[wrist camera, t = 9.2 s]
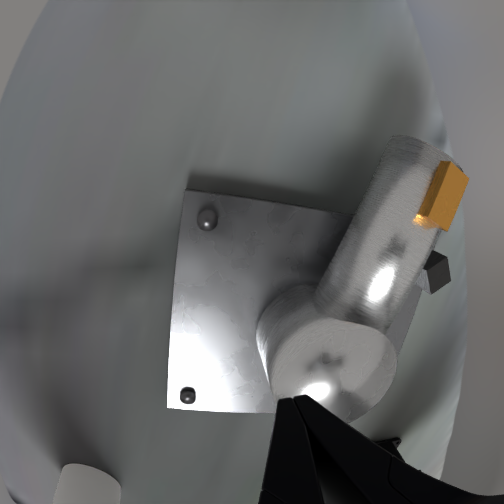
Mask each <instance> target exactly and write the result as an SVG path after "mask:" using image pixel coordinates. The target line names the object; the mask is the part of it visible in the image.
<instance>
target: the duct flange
mask: <svg viewBox="0 0 504 504" xmlns="http://www.w3.org/2000/svg"><path fill="white" fill-rule="evenodd" d="M353 217H354V215H349V214H343V213H338V212H333V211H327V210H322V209H316V208H310V207H305V206H299V205H293V204H287V203H281V202H275V201H269V200H262V199H256V198H249V197H242V196H236V195H229V194H222V193H214V192H207V191H200V190H192V189H185V193H184V200H183V208H182V216H181V224H180V232H179V241H178V250H177V259H176V269H175V280H174V291H173V304H172V317H171V332H170V349H169V371H168V402H167V407H169V408H179V409H189V410H202V411H218V412H244V413H275V412H276V405H275V401H274V398H273V395H272V392H271V389H270V385H269V382H268V379H267V376H266V372H265V369H264V366H263V363H262V359H261V356H260V353H259V349H258V346H257V341H256V332H257V326H258V323H259V320H260V318H261V316H262V314H263V312H264V311H265V309H266V308H267V307H268V305H269V304H270V303H271V302H272V301H273V300H274V299H275V298H277V297H278V296H279V295H280V294H282V293H284V292H285V291H287V290H289V289H291V288H293V287H296V286H299V285H304V284H310V283H320V281H321V279H322V277H323V276H324V274H325V272H326V270H327V268H328V266H329V264H330V262H331V261H332V259H333V257H334V255H335V253H336V251H337V249H338V247H339V245H340V243H341V241H342V239H343V237H344V235H345V233H346V231H347V229H348V227H349V225H350V223H351V221H352V219H353ZM434 247H435V245H434ZM434 247H433V249H432V251H431V253H430V255H429V257H428V259H427V261H426V263H425V265H424V267H423V269H422V271H421V273H420V275H419V277H418V279H417V281H416V282H415V284H414V286H413V288H412V290H411V292H410V293H409V295H408V297H407V299H406V301H405V302H404V304H403V306H402V308H401V309H400V311H399V313H398V314H397V316H396V318H395V319H394V321H393V323H392V324H391V326H390V328H389V329H388V331H387V333H386V334H385V336H386V337H387V338H388V339H389V341H390V342H391V343H392V345H393V346H394V348H395V351H396V355H397V357H398V354H399V352H400V350H401V347H402V345H403V342H404V339H405V337H406V334H407V332H408V329H409V326H410V324H411V321H412V318H413V315H414V312H415V310H416V307H417V304H418V301H419V298H420V295H421V292H422V289H423V290H425V291H426V292H428V293H429V294H433V293H434V292H436V291H437V290H439V289H440V288H442V287H443V286H444V285H446V284H447V283H449V282H450V281H451V278H450V271H449V265H448V259H447V257H446V256H444V255H442V254H440V253H438V252H436V251H434Z"/></svg>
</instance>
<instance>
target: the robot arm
mask: <svg viewBox="0 0 504 504" xmlns="http://www.w3.org/2000/svg"><path fill="white" fill-rule="evenodd" d="M400 443H401V439H400V438H394V439H389V440H384V441H379V442H373V441H371V440H370V439H369V438H367V437H366V436H364V435H363V434H361V433H360V432H358V431H357V430H356V429H354V428H353V427H351V426H350V425H348V424H347V423H346V422H344V421H343V420H341V419H340V418H339V417H337V416H336V415H335V414H333V413H332V412H330V411H329V410H328V409H326V408H325V407H324V406H322V405H321V404H320V403H318V402H317V401H316V400H314V399H313V398H312V397H310V396H309V395H307V394H303V395H298V396H294V397H293V398H291V397H287V398H282V399H278V401H277V406H276V412H275V418H274V423H273V429H272V435H271V441H270V446H269V452H268V457H267V462H266V468H265V473H264V478H263V483H262V488H261V489H262V490H261V492H260V497H259V502H258V504H504V495H494V496H484V495H477V494H473V493H470V492H467V491H464V490H461V489H459V488H457V487H454V486H452V485H449V484H447V483H445V482H442V481H440V480H438V479H436V478H433V477H431V476H429V475H427V474H425V473H423V472H421V470H417V469H415V468H414V467H412V466H410V465H408V464H407V463H405V461H404V459H403V458H402V456H401V455H400V453H399V452H398V450H397V447H398V446H399V444H400Z"/></svg>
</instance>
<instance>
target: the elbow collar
mask: <svg viewBox="0 0 504 504" xmlns="http://www.w3.org/2000/svg"><path fill="white" fill-rule="evenodd" d="M468 180H469V178H468V177H467V176H466V175H465V174H464V173H463V171H462V169H461V167H460V166H459V165H458V164H457V163H456V162H455V161H454V160H453V159H452V158H451V157H450V156H448V155H447V154H445V153H444V152H443V151H441V150H439V149H438V148H436V147H434V146H432V145H430V144H428V143H426V142H424V141H421V140H418V139H416V138H412V137H408V136H402V135H395V136H392V137H391V138H390V139H389V142H388V144H387V146H386V149H385V151H384V153H383V155H382V158H381V160H380V162H379V164H378V167H377V169H376V171H375V173H374V175H373V177H372V180H371V182H370V184H369V186H368V188H367V190H366V192H365V195H364V197H363V199H362V201H361V203H360V205H359V207H358V209H357V211H356V213H355V215H354V217H353V219H352V221H351V223H350V225H349V227H348V229H347V231H346V233H345V235H344V237H343V239H342V241H341V243H340V245H339V247H338V249H337V251H336V253H335V255H334V257H333V259H332V261H331V262H330V264H329V266H328V268H327V270H326V272H325V274H324V276H323V277H322V279H321V281H320V283H310V284H304V285H299V286H296V287H293V288H291V289H289V290H287V291H285V292H284V293H282V294H280V295H279V296H278V297H277V298H275V299H274V300H273V301H272V302H271V303H270V304H269V305H268V307H267V308H266V309H265V311H264V312H263V314H262V316H261V318H260V320H259V323H258V326H257V332H256V341H257V346H258V349H259V353H260V356H261V359H262V363H263V366H264V369H265V372H266V376H267V379H268V382H269V385H270V389H271V392H272V395H273V398H274V401H275V405H276V406H277V401H278V399H282V398H287V397H291V398H293V397H294V396H298V395H303V394H307V395H309V396H310V397H312V398H313V399H314V400H316V401H317V402H318V403H320V404H321V405H322V406H324V407H325V408H326V409H328V410H329V411H330V412H332V413H333V414H335V415H336V416H337V417H339V418H340V419H341V420H343V421H344V422H346V423H350V422H352V421H354V420H356V419H357V418H359V417H361V416H362V415H364V414H365V413H366V412H368V411H369V410H370V409H371V408H373V407H374V406H375V405H376V404H377V403H378V402H379V401H380V400H381V399H382V397H383V396H384V395H385V393H386V392H387V391H388V389H389V387H390V385H391V384H392V381H393V379H394V377H395V373H396V369H397V355H396V351H395V348H394V346H393V345H392V343H391V342H390V341H389V339H388V338H387V337H386V336H385V334H386V333H387V331H388V329H389V328H390V326H391V324H392V323H393V321H394V319H395V318H396V316H397V314H398V313H399V311H400V309H401V308H402V306H403V304H404V302H405V301H406V299H407V297H408V295H409V293H410V292H411V290H412V288H413V286H414V284H415V282H416V281H417V279H418V277H419V275H420V273H421V271H422V269H423V267H424V265H425V263H426V261H427V259H428V257H429V255H430V253H431V251H432V249H433V247H434V245H435V243H436V241H437V239H438V237H439V234H440V232H441V230H444V231H448V229H449V227H450V225H451V222H452V220H453V218H454V215H455V213H456V211H457V208H458V206H459V203H460V201H461V198H462V196H463V193H464V191H465V188H466V186H467V183H468Z"/></svg>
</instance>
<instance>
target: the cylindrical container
mask: <svg viewBox="0 0 504 504" xmlns="http://www.w3.org/2000/svg"><path fill="white" fill-rule="evenodd" d="M120 495H121V486H120V484H119V483H118V482H117V481H116V480H115V479H114V478H113V477H111V476H110V475H109V474H107V473H105V472H103V471H101V470H99V469H96V468H94V467H90V466H87V465H82V464H67V465H65V466H64V467H63V468H62V471H61V475H60V478H59V481H58V485H57V488H56V492H55V495H54V499H53V503H52V504H119V503H120Z"/></svg>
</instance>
